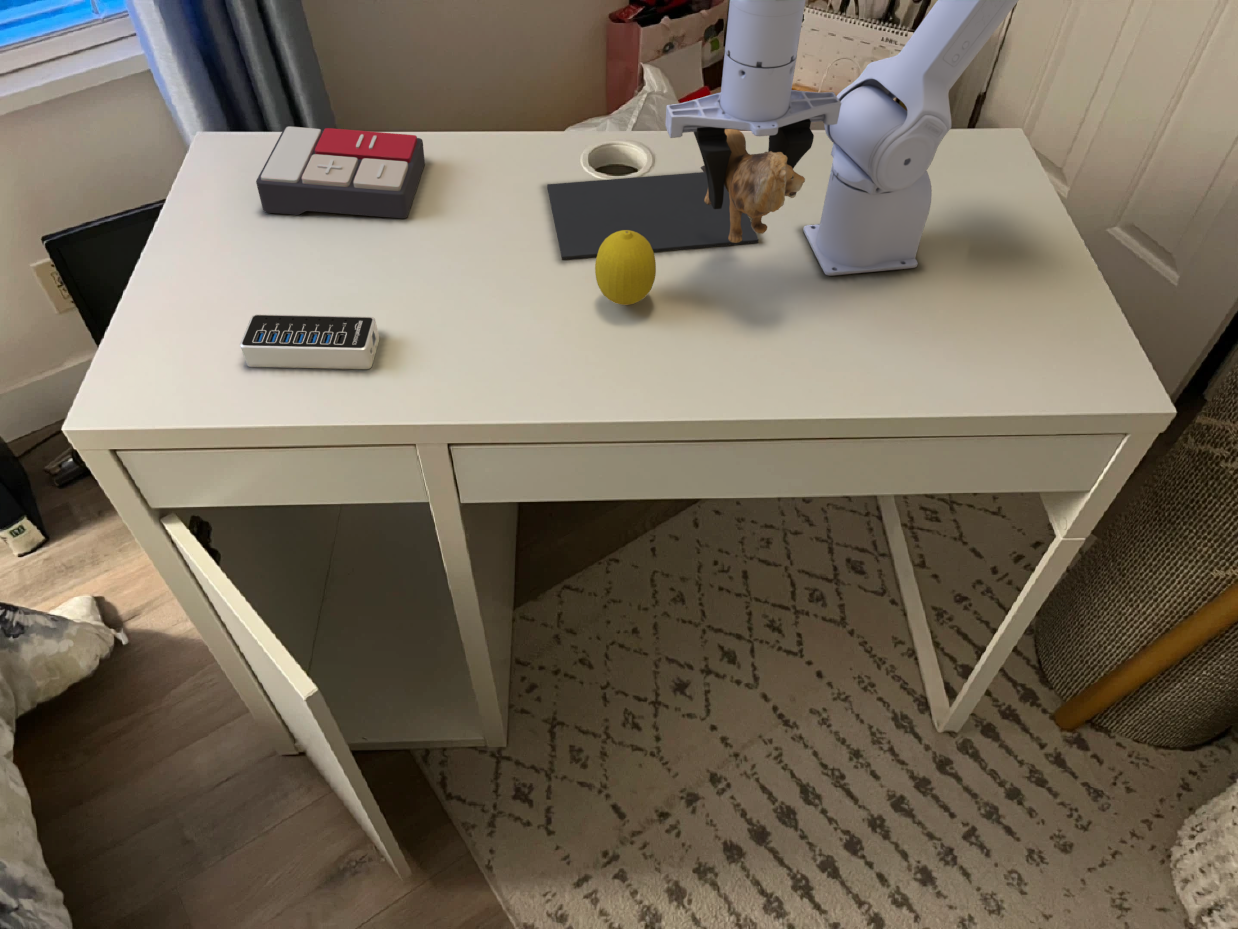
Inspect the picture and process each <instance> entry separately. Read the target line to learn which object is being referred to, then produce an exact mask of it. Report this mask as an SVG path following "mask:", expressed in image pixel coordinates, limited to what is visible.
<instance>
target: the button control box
mask: <svg viewBox="0 0 1238 929" xmlns="http://www.w3.org/2000/svg"><path fill="white" fill-rule="evenodd" d="M425 162H426V161H425V151H424V140H423V139H422V138H420V137H418V136H417V135H415V134H407V133H394V132H393V133H392V132H381V131H368V130H357V129H345V128H344V129H343V128H333V127H325V128H324V129H320V128H313V127H312V128H311V127H300V126H286V127H284V128H283V130H282V132H281V133H280V135H279V137H278V139H277V140H276V143H275V145H274V146H273V148H272V150H271V152H270V154H269V156H268V158H267V160H266V162H265V163H264V165H263V168H262V169H261V170H260V173H259V175H258V176H257V178H256V181H255V184H256V188H257V191H258V196H259V200H260V203H261V207H262V211H263V212H264V213H269V214H279V215H280V214H281V215H295V216H299V215H301V214H303V213H305V212H319V213H329V214H330V213H331V214H344V215H354V216H367V217H368V216H369V217H379V218H392V219H393V218H394V219H406V218H408V216H409V213H410V210H411V207H412V204H413V201H414V198H415V195H416V192H417V190H418V189H417V188H418V186H419V183H420V179H421V177H422V173H423V170H424V166H425V164H426V163H425Z"/></svg>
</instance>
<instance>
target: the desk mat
mask: <svg viewBox="0 0 1238 929" xmlns="http://www.w3.org/2000/svg"><path fill="white" fill-rule="evenodd" d="M546 188H547V194H548V197H549V202H550V207H551V212H552V218H553V222H554V226H555V231H556V236H557V241H558V246H559V250H560V251H559V252H560V256H561V260H562V261H566V260H567V261H568V260H577V259H579V260H580V259H588V258H597V254H598V251H599V248H600V246H601V244H602V243H603V242H604V240H605V239H606V238H607V237H608V236H610V235H611V234H613V233H615V232H618V231H622V230H630V231H634V232H637V233H639V234H640V235H642V236H643V237H645V238H646V240H647V241H648V242H649V243H650V245H651V247H652V250H653V252H654V253H657V252H658V253H659V252H669V251H680V250H691V249H703V248H714V247H716V248H717V247H724V246H726V247H727V246H737V245H749V244H758V243H759V240H760V238H759V237H758V235H757V233H756V232H755V231H754V230H753V229H752V227H751V221H752V220H751V219H750V216H748V215H747V214H745V213H743V212H742V216H741V229H742V235H741V236H742V241H741V242H738V243H733V242H730V241H729V239H728V237H729V234H730V209H729V207H730V198H729V192H728V191H727V189H726V187H725V185H724V196H723V204H722V208H721V209H713V207H712V204H711V205H708V204H706V203H705V202H704V200H705V197H706V194H707V191H708V182H707V175H706V172H703V171H702V172H700V171H699V172H691V173H689V172H687V173H675V174H664V175H663V174H662V175H650V176H649V175H648V176H636V177H625V178H612V179H611V178H610V179H599V180H584V181H573V182H560V183H558V182H557V183H547V184H546Z"/></svg>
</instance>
